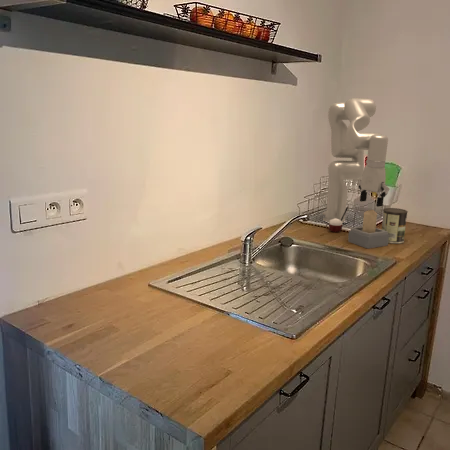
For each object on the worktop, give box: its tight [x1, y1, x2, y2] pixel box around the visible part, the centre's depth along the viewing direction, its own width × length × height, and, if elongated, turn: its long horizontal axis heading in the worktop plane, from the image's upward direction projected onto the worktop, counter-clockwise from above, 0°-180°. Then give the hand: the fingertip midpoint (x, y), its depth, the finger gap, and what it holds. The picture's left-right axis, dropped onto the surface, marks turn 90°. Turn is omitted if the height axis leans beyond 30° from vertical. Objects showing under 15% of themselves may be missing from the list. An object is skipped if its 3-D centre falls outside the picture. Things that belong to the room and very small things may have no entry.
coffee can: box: [381, 207, 409, 244], centre depth 224 cm, size 10×10×14 cm
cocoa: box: [325, 206, 349, 233], centre depth 237 cm, size 10×6×12 cm, turn 61°
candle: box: [362, 209, 378, 233], centre depth 217 cm, size 6×6×10 cm
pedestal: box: [347, 226, 389, 249], centre depth 219 cm, size 12×12×6 cm
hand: (371, 203), depth 216 cm, fingers open, 9 cm apart
